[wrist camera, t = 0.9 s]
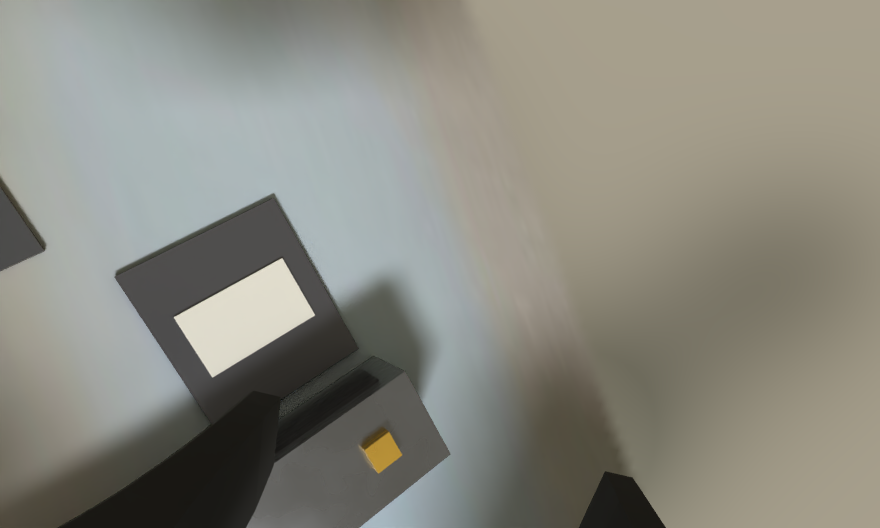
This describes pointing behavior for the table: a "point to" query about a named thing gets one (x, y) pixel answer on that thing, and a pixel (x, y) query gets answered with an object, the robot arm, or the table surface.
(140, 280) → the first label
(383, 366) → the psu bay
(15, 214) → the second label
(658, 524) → the robot arm
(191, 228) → the table surface
